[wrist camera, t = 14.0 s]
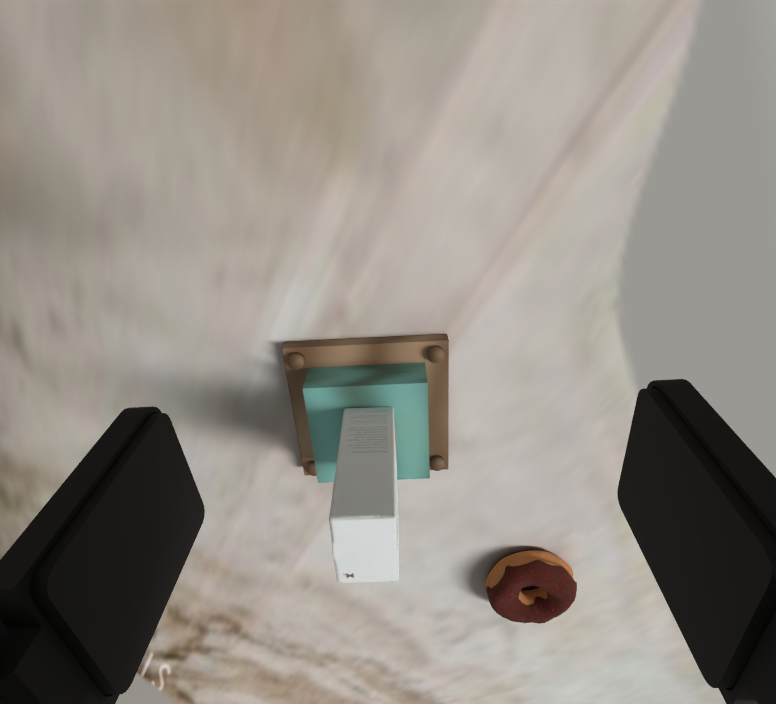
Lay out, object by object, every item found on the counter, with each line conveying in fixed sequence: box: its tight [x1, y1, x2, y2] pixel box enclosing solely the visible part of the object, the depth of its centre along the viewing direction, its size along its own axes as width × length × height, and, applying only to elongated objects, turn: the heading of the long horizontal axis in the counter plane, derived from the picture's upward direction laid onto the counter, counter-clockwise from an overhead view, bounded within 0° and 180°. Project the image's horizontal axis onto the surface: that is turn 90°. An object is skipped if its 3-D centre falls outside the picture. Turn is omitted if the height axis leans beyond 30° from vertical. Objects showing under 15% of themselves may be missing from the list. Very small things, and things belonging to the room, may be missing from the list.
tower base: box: [282, 334, 449, 483], centre depth 43 cm, size 14×14×4 cm
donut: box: [486, 551, 577, 623], centre depth 55 cm, size 10×10×4 cm
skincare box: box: [329, 407, 399, 583], centre depth 36 cm, size 6×4×12 cm
